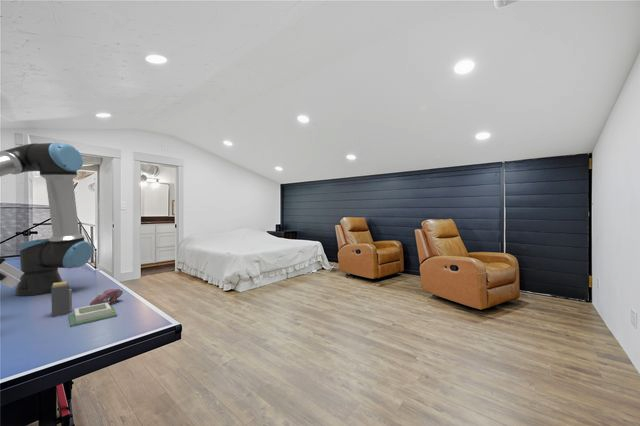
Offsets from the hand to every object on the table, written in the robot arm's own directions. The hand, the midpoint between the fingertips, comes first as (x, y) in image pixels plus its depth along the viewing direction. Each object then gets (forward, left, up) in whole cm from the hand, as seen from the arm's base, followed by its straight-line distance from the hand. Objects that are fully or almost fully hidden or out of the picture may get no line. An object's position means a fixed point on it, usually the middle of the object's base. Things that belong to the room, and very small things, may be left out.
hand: (18, 280), depth 91 cm
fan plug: (0, +10, -14) cm, 17 cm away
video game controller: (-1, +23, -14) cm, 27 cm away
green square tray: (+11, +18, -14) cm, 25 cm away
